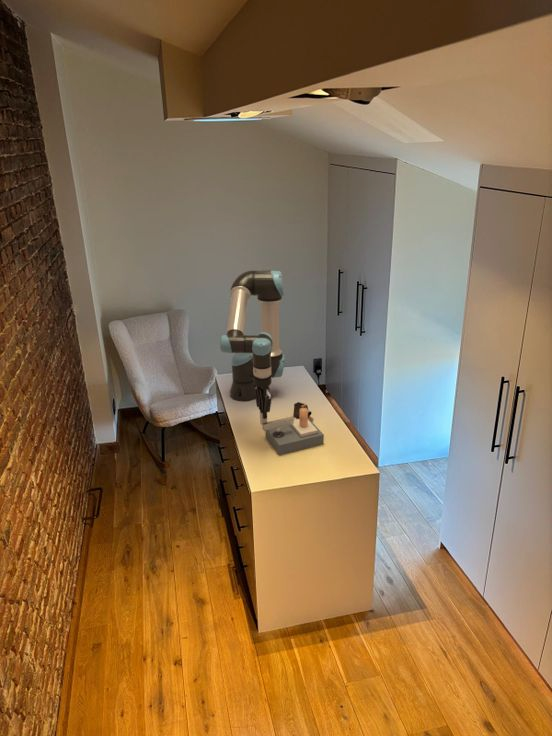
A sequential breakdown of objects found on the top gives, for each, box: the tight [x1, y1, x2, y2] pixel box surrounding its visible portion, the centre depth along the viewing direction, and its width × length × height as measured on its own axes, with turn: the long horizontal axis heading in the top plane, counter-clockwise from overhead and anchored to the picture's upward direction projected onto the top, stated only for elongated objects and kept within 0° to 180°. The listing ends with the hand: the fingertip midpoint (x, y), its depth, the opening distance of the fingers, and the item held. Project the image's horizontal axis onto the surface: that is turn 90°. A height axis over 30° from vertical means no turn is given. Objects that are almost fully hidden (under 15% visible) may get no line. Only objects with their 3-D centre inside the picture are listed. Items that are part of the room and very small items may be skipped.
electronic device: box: [292, 401, 314, 422], centre depth 257 cm, size 4×10×8 cm, turn 44°
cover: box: [291, 408, 318, 437], centre depth 239 cm, size 12×8×10 cm, turn 22°
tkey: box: [261, 416, 295, 435], centre depth 235 cm, size 2×14×6 cm, turn 112°
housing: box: [264, 418, 325, 456], centre depth 241 cm, size 16×21×5 cm
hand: (263, 423), depth 237 cm, fingers closed
